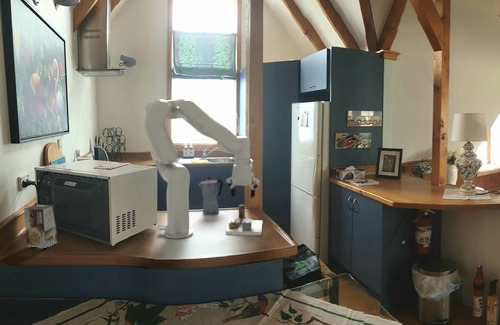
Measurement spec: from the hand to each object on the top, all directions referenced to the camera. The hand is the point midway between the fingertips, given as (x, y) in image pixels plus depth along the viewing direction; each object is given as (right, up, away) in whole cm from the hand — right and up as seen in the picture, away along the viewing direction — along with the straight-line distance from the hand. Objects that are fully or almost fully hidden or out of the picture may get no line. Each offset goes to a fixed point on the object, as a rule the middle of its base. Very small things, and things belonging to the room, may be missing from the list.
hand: (243, 196), depth 168 cm
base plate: (+1, -15, -5) cm, 16 cm away
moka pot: (-18, -11, +23) cm, 31 cm away
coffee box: (-81, -17, -29) cm, 87 cm away
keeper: (-1, -14, -11) cm, 17 cm away
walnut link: (-3, -12, -4) cm, 13 cm away
